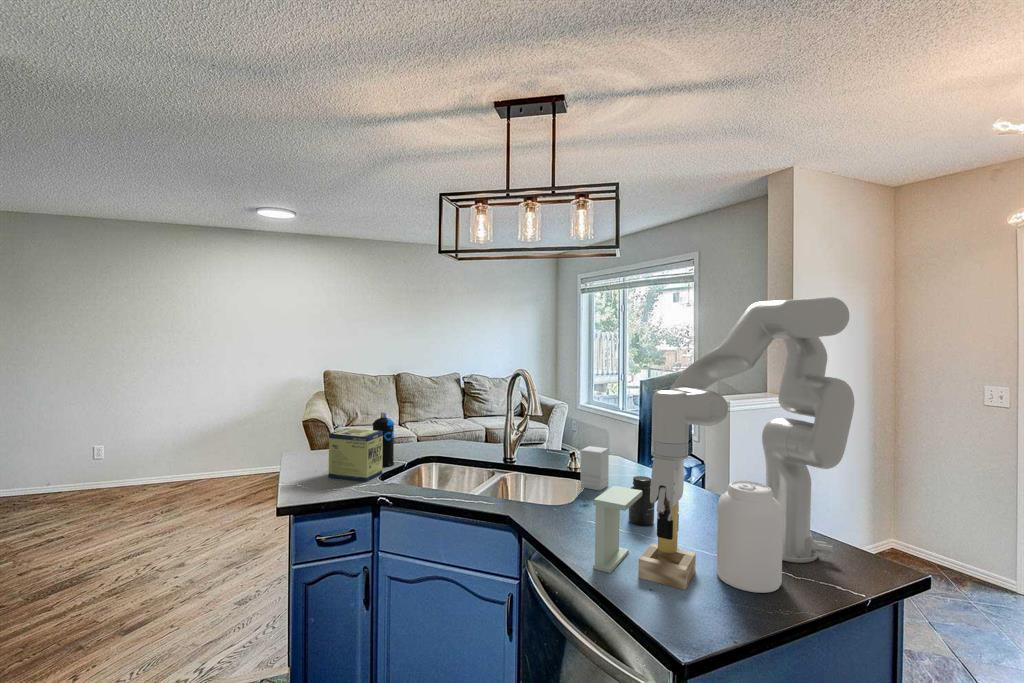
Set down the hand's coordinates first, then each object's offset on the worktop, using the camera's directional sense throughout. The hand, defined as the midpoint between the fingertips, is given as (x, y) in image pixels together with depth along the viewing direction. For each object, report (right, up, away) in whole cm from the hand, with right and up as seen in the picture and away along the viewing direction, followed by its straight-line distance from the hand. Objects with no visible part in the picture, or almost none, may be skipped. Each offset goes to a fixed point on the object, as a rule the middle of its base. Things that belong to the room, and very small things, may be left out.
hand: (667, 533), depth 110 cm
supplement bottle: (+2, -8, +31) cm, 32 cm away
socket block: (0, -9, 0) cm, 9 cm away
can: (+16, -9, -2) cm, 19 cm away
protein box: (-88, -6, +71) cm, 113 cm away
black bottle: (-82, -6, +86) cm, 119 cm away
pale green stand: (-9, -9, +6) cm, 14 cm away
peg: (0, -3, 0) cm, 3 cm away
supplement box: (-6, -8, +62) cm, 63 cm away
